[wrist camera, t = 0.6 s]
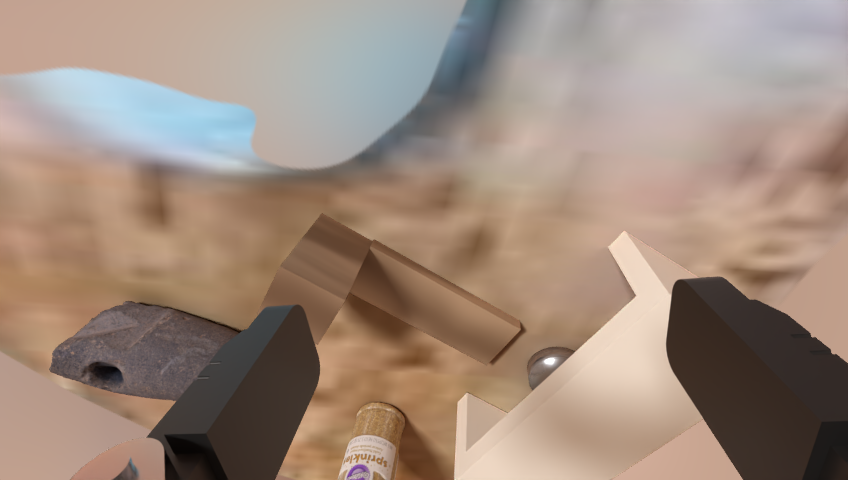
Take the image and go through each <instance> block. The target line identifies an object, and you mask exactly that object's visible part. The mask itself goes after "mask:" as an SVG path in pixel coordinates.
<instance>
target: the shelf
mask: <svg viewBox="0 0 848 480" xmlns="http://www.w3.org/2000/svg"><path fill="white" fill-rule="evenodd" d="M608 248H609V250H610V252H611V253H612V255H613V257H614V258H615V260H616V262H617V264H618V265H619V267H620V269H621V270H622V272H623V274H624V276H625V277H626V279H627V281H628V282H629V284H630V286H631V288H632V289H633V291H634V293H635V294H636V297H635V298H634V299H633V300H632V301H630V302H629V303H628V304H627V305H626V306H625V307H624V308H623V309H622V310H621V311H620V312H618V313H617V314H616V315H615V316H614V317H613V318H612V319H611V320H610V321H609V322H607V323H606V324H605V325H604V326H603V327H602V328H601V329H600V330H599V331H598V332H597V333H595V334H594V335H593V336H592V337H591V338H590V339H589V340H588V341H587V342H586V343H585V344H583V345H582V346H581V347H580V348H579V349H578V350H577V351H576V352H575V353H574V354H572V355H571V356H570V357H569V358H568V359H567V360H566V361H565V362H564V363H563V364H562V365H560V366H559V367H558V368H557V369H556V370H555V371H554V372H553V373H552V374H551V375H550V376H548V377H547V378H546V379H545V380H544V381H543V382H542V383H541V384H540V385H539V386H537V387H536V388H535V389H534V390H533V391H532V392H531V393H530V394H529V395H528V396H527V397H525V398H524V399H523V400H522V401H521V402H520V403H519V404H518V405H517V406H516V407H514V408H513V409H512V410H511V411H510V412H509V413H506V412H504V411H502V410H500V409H498V408H496V407H495V406H493V405H491V404H489V403H487V402H485V401H483V400H481V399H479V398H477V397H475V396H473V395H471V394H469V393H466V394H465V395H464V396H463V397H462V398H461V399H460V400H459V402H458V408H457V430H456V451H455V473H454V480H612V479H613V478H615V477H616V476H618V475H619V474H621V473H623V472H624V471H625V470H627V469H629V468H630V467H632V466H633V465H634V464H636V463H638V462H639V461H641V460H642V459H643V458H645V457H647V456H648V455H650V454H651V453H653V452H654V451H656V450H657V449H659V448H660V447H662V446H663V445H665V444H666V443H668V442H669V441H671V440H672V439H674V438H675V437H677V436H678V435H680V434H681V433H683V432H684V431H686V430H687V429H689V428H690V427H692V426H693V425H695V424H696V423H698V422H699V421H701V420H703V417H702V416H701V414H700V413H699V411H698V410H697V408H696V407H695V405H694V404H693V402H692V400H691V399H690V397H689V396H688V394H687V393H686V391H685V390H684V388H683V387H682V385H681V384H680V382H679V381H678V379H677V377H676V376H675V374H674V373H673V371H672V369H671V367H670V364H669V361H668V357H667V352H666V337H667V329H668V321H669V312H670V304H671V296H672V289H673V285H674V283H675V282H676V281H677V280H679V279H690V278H699V277H697V276H696V275H694V274H693V273H691V272H690V271H688V270H686V269H685V268H683V267H682V266H680V265H678V264H677V263H675V262H674V261H672V260H670V259H669V258H667V257H666V256H664V255H663V254H661V253H659V252H658V251H656V250H655V249H653V248H651V247H650V246H648V245H647V244H645V243H643V242H642V241H640V240H639V239H637V238H636V237H634V236H632V235H631V234H629V233H628V232H626V231H623V232H622V233H621V234H620V235H619V237H618V238H617V239H616V240H615V241H614V242H613V243H612V244H611V245H610V246H609V247H608Z"/></svg>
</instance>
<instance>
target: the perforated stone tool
mask: <svg viewBox="0 0 848 480" xmlns="http://www.w3.org/2000/svg"><path fill="white" fill-rule="evenodd" d="M238 334H239V333H238V332H236V331H234V330H232V329H229V328H227V327H224V326H220V325H218V324H214V323H212V322H209V321H207V320H205V319H202V318H198V317H195V316H192V315H189V314H187V313H184V312H180V311H178V310H174V309H170V308H163V307H161V306H157V305H153V306H145V305H143V304H139V303H135V302H132V301H126V302H124V303H123V305H119V306H115V307H113V308H111V309H108V310H105V311H102V312H101V313H100V314H98V315H97V316H96V317H95V318H92V319H91V320H90V322H89V323H88V324H87V325H85V326H84V327H83V328H82V329H81V330H80V331H79V332H77V333H76V334H75V335H74V336H73V337H71V338H69V339H67V340H65V341H64V342H63V343H61V344H60V345H59V346H58V347H57V348H56V349H55V350H54V351H53V353H52V355H53V357H52V363H51V367H50V369H49V370H50V372H52V373H55V374H57V375H60V376H63V377H64V378H69V379H72V380H76V381H79V382H82V383H84V384H87V385H90V386H93V387H97V388H100V389H104V390H107V391H111V392H114V393H119V394H126V395H132V396H138V397H145V398H153V399H162V400H173V401H177V400H178V399H179V398H180V397H181V395H182V394H183V393H184V392H185V391H186V389H187V388H188V387H189V386H190V385H191V383H192V382H193V381H194V380H197V376H198V375H199V374H200V373H201V371H202V370H203V369H204V368H205V367H206V365H209V364H210V361H211V359H212V358H213V357H214V356H215V355H216V353H217V352H218V351H219V350H220V349H221V347H222V346H223V345H224V344H225V343H227V342H228V341H229V340H231V339H232V338H234V337H235V336H236V335H238Z"/></svg>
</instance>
